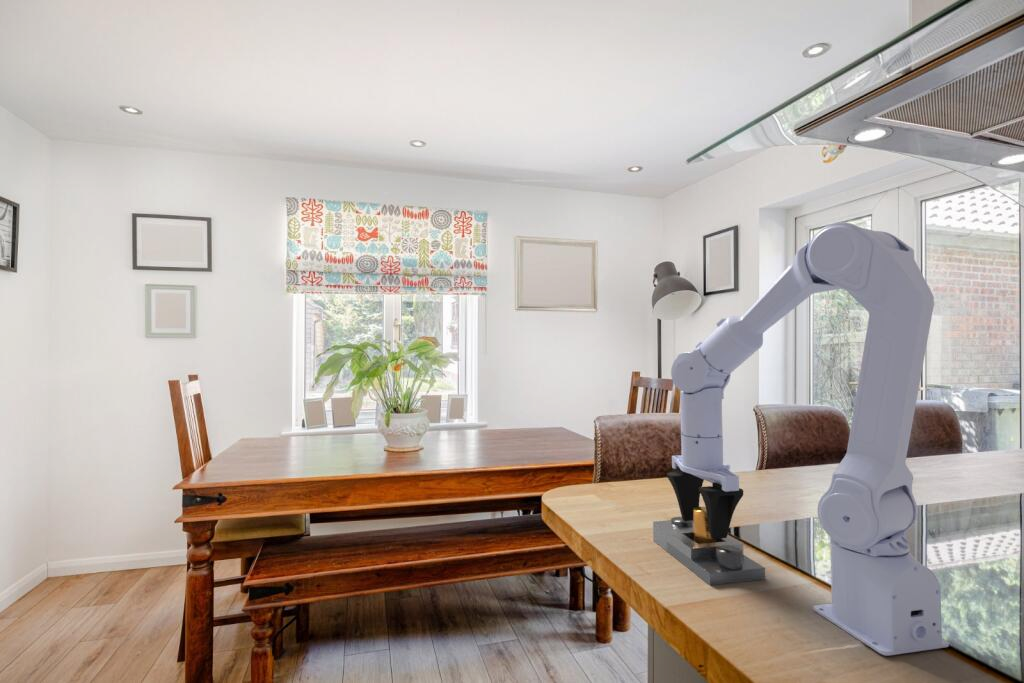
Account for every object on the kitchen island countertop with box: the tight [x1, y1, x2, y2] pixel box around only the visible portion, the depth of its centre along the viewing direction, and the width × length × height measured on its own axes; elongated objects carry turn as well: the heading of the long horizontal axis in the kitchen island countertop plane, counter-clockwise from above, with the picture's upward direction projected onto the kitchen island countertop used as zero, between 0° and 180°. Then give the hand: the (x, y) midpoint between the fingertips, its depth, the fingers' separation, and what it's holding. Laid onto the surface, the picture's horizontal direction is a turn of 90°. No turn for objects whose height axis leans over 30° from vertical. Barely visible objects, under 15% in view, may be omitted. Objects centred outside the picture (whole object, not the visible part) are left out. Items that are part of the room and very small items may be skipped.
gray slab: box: [652, 516, 766, 586], centre depth 75 cm, size 16×8×4 cm, turn 11°
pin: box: [693, 506, 716, 544], centre depth 75 cm, size 3×3×7 cm
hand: (703, 528), depth 75 cm, fingers open, 7 cm apart
